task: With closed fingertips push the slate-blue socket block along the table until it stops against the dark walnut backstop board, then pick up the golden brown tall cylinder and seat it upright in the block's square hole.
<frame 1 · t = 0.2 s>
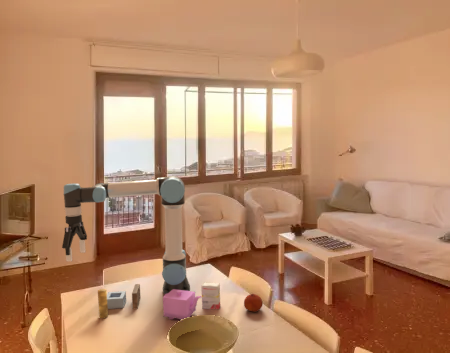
hand: (76, 256, 185), 27 cm above the table, fingers open, 13 cm apart
golden brown tall cylinder: (103, 316, 178), on the table
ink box: (211, 307, 185), on the table
teapot: (183, 317, 176), on the table
backstop: (136, 303, 191), on the table
block: (115, 299, 190), point 3 cm above the table, slide at 0.0 cm
fruit: (253, 310, 180), on the table
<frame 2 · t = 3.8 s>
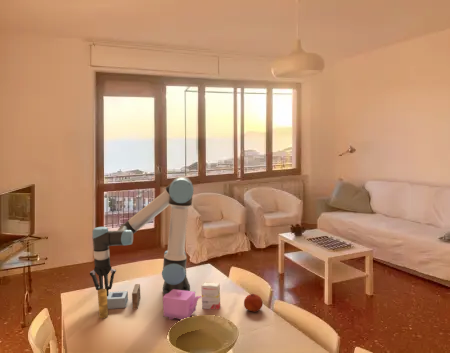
hand: (105, 302, 189), 2 cm above the table, fingers closed
block: (117, 299, 190), point 3 cm above the table, slide at 0.9 cm, touching gripper
everything else where it was.
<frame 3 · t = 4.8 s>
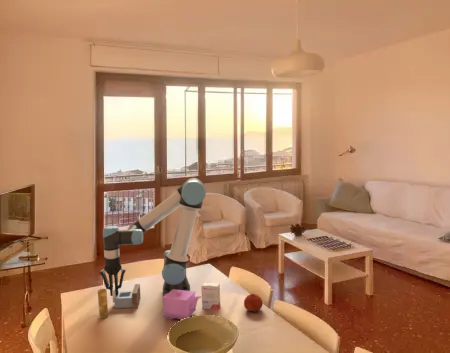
hand: (114, 301, 190), 2 cm above the table, fingers closed
block: (125, 299, 190), point 3 cm above the table, slide at 4.8 cm, touching backstop, gripper
everything else where it was.
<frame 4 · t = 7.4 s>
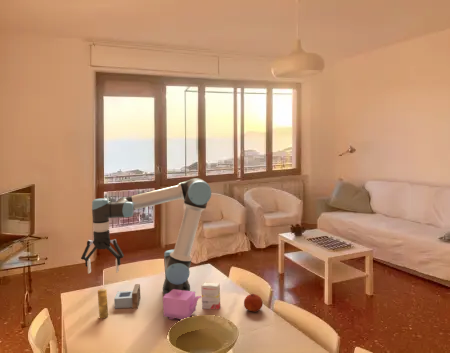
hand: (103, 272, 184), 19 cm above the table, fingers open, 13 cm apart
block: (125, 299, 190), point 3 cm above the table, slide at 4.8 cm, touching backstop
everything else where it was.
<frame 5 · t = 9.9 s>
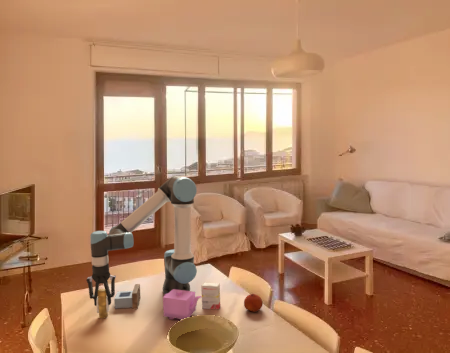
hand: (103, 311, 178), 3 cm above the table, fingers closed on golden brown tall cylinder, 4 cm apart
golden brown tall cylinder: (103, 316, 178), on the table, touching gripper
everything else where it was.
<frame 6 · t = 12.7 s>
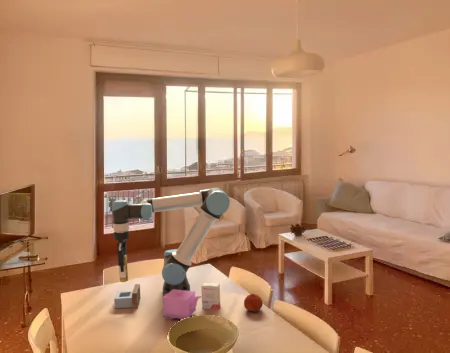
hand: (123, 275, 189), 15 cm above the table, fingers closed on golden brown tall cylinder, 4 cm apart
golden brown tall cylinder: (123, 280, 189), point 13 cm above the table, touching gripper
everything else where it was.
when the fingers open (7 cm above the table, at t = 15.4 s): golden brown tall cylinder drops 2 cm, resting on block.
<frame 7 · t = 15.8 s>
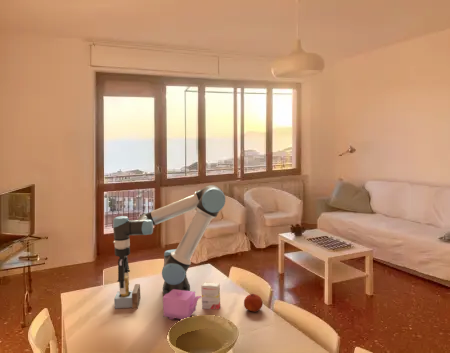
hand: (124, 289, 190), 8 cm above the table, fingers open, 10 cm apart
golden brown tall cylinder: (125, 301, 190), point 1 cm above the table, touching block
block: (125, 299, 190), point 3 cm above the table, slide at 4.8 cm, touching golden brown tall cylinder
everything else where it was.
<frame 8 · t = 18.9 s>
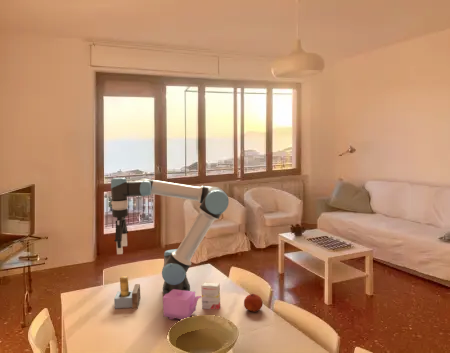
hand: (122, 249, 188), 29 cm above the table, fingers open, 13 cm apart
nothing on the table moved.
at the end: block slide at 4.8 cm; golden brown tall cylinder 0.1 cm off-centre on the block, point 1.2 cm above the block's base; golden brown tall cylinder tilted 0° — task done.
